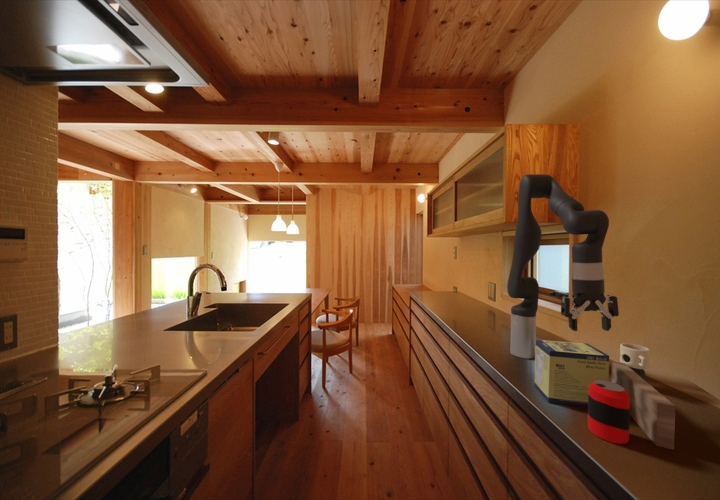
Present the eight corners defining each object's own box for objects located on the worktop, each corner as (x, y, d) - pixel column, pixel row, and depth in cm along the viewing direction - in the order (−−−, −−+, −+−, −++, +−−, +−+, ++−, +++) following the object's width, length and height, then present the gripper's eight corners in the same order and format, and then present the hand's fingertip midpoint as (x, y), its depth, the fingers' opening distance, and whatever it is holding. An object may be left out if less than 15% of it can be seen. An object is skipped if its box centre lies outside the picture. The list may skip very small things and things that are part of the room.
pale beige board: (611, 393, 88) (611, 361, 88) (623, 395, 87) (624, 363, 87) (656, 445, 64) (657, 402, 64) (674, 449, 63) (675, 405, 63)
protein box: (609, 410, 79) (610, 355, 79) (547, 403, 82) (549, 350, 82) (587, 391, 89) (588, 343, 89) (533, 386, 92) (534, 339, 92)
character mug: (612, 376, 100) (613, 340, 100) (638, 380, 97) (638, 343, 97) (629, 391, 90) (630, 350, 89) (658, 395, 87) (659, 354, 87)
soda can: (579, 424, 72) (580, 378, 72) (607, 423, 72) (608, 377, 72) (607, 445, 64) (609, 393, 64) (638, 444, 65) (639, 393, 65)
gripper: (605, 274, 87) (607, 326, 87) (555, 276, 89) (557, 326, 90) (624, 277, 79) (626, 334, 80) (568, 280, 82) (570, 334, 82)
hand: (589, 330), depth 85 cm, fingers open, 8 cm apart
